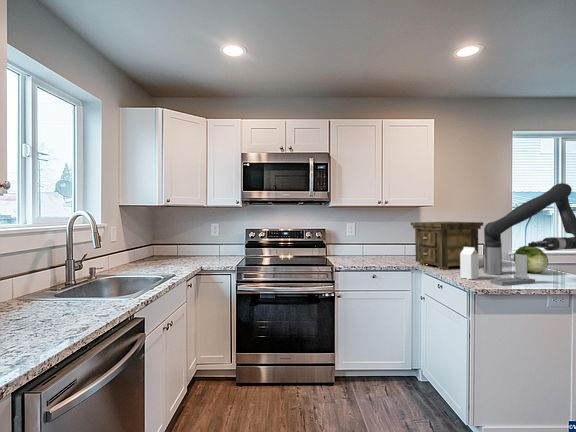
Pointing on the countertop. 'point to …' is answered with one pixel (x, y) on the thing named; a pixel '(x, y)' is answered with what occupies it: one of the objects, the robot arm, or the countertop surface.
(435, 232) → the wooden drawer cabinet
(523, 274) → the fader tab
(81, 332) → the countertop surface
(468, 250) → the milk carton
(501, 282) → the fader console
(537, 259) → the lettuce
